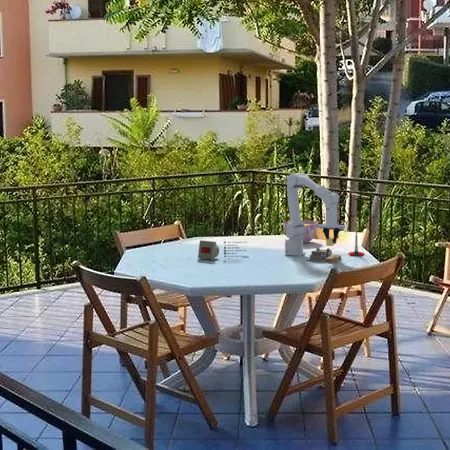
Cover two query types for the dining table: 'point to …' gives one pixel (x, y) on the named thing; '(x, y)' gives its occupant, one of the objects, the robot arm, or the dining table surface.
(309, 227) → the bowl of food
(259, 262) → the dining table surface
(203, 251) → the voltmeter
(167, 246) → the dining table surface
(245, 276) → the dining table surface
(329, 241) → the link bar
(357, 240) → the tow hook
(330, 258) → the block
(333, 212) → the robot arm
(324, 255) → the grey stepped metal block
